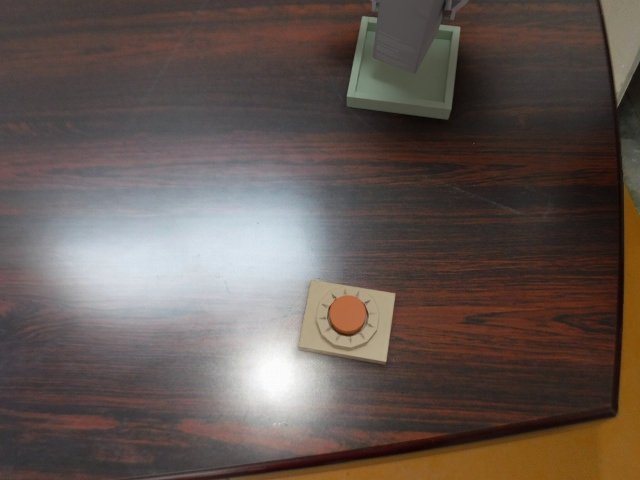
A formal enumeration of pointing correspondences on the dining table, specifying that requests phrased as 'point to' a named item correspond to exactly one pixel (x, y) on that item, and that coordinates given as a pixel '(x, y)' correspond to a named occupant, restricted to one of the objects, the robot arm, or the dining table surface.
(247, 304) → the dining table surface
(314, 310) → the orange push button box
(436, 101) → the shallow square tray
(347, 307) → the button
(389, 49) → the cosmetic box
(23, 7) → the dining table surface
